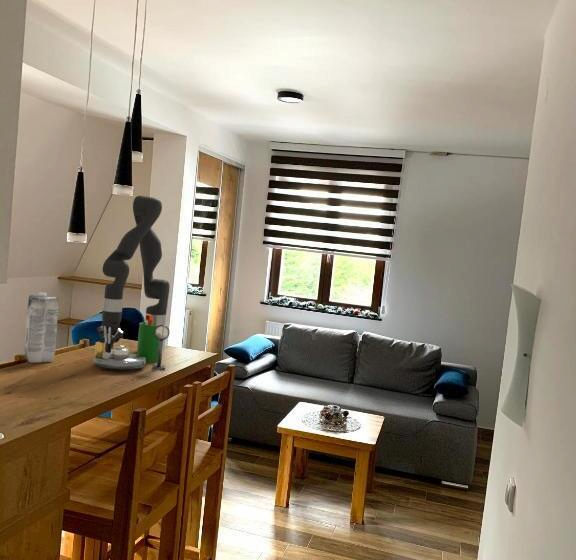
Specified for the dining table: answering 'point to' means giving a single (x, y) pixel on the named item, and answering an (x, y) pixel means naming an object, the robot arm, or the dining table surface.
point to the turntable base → (118, 369)
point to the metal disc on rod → (160, 344)
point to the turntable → (108, 362)
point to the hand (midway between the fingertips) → (108, 352)
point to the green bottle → (148, 340)
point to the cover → (119, 352)
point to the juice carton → (41, 328)
